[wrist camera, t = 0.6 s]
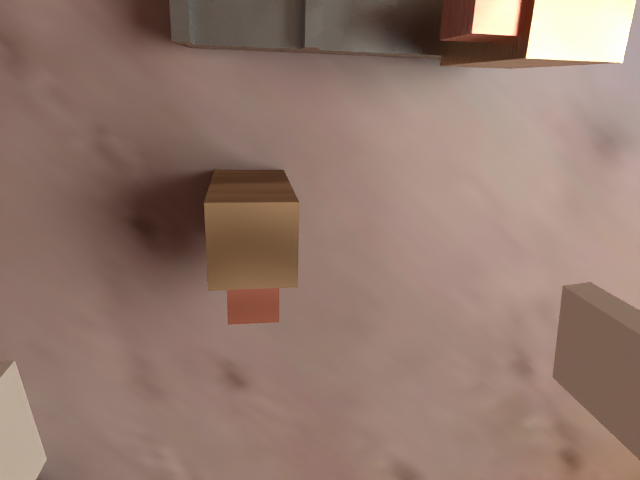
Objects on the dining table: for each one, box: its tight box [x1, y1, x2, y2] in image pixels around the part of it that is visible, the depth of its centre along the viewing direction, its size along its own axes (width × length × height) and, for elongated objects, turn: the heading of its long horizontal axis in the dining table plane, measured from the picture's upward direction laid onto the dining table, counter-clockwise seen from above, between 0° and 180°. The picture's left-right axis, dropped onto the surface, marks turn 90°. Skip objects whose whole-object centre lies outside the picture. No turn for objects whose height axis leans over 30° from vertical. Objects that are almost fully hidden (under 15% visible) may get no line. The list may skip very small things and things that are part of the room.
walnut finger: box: [204, 170, 299, 324], centre depth 25 cm, size 6×4×8 cm, turn 178°
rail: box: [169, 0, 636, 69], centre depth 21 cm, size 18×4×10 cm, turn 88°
